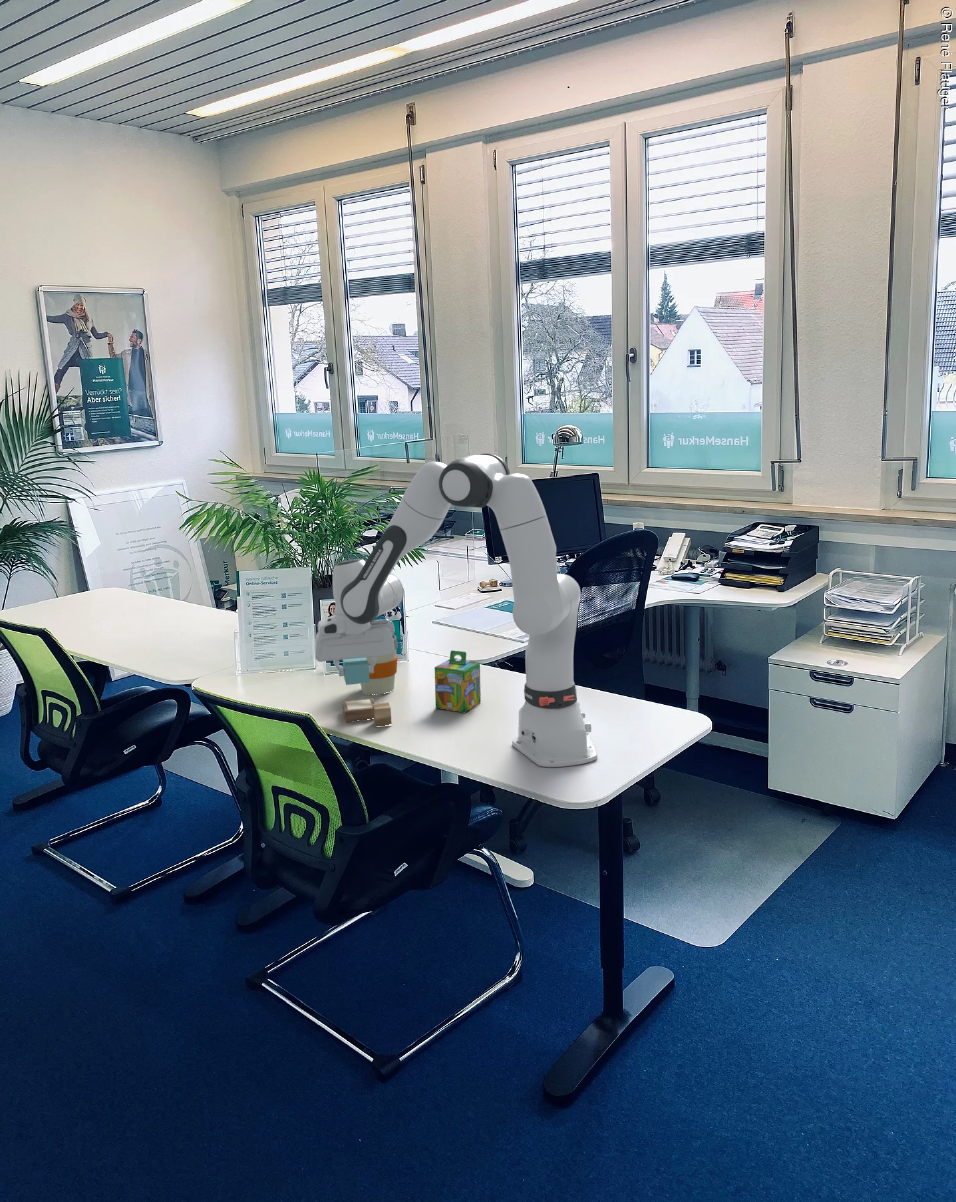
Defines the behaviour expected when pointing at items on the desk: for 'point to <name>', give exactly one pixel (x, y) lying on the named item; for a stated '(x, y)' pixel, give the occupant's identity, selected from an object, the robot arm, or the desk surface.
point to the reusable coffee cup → (382, 673)
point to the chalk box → (457, 683)
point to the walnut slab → (358, 709)
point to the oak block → (382, 714)
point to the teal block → (356, 671)
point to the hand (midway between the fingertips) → (356, 674)
